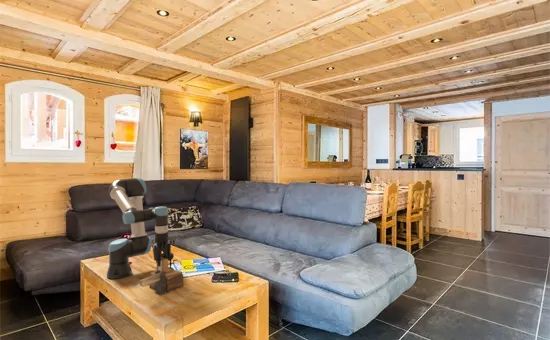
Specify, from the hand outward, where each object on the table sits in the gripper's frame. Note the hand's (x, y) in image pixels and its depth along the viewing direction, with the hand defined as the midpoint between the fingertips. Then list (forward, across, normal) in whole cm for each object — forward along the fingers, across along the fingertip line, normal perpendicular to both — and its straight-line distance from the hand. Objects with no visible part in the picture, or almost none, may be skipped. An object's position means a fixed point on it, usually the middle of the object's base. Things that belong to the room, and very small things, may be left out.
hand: (162, 270), depth 191 cm
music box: (+10, +14, +13) cm, 21 cm away
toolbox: (+10, -2, -3) cm, 10 cm away
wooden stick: (+1, -13, -8) cm, 15 cm away
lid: (+2, 0, -3) cm, 4 cm away
